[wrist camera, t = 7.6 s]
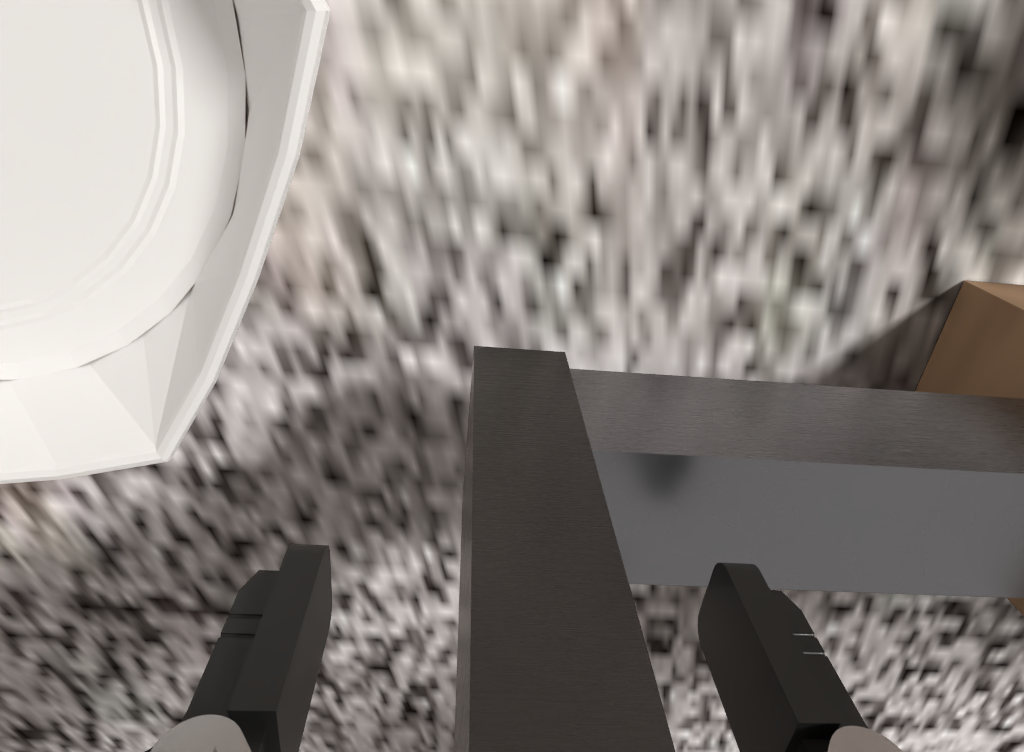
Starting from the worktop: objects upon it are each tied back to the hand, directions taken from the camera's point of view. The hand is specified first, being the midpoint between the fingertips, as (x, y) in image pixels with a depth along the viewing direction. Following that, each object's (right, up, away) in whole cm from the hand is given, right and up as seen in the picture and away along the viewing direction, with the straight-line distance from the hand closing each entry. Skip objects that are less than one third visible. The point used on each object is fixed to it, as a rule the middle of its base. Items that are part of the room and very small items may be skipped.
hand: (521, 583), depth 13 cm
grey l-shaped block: (+9, +2, +6) cm, 11 cm away
